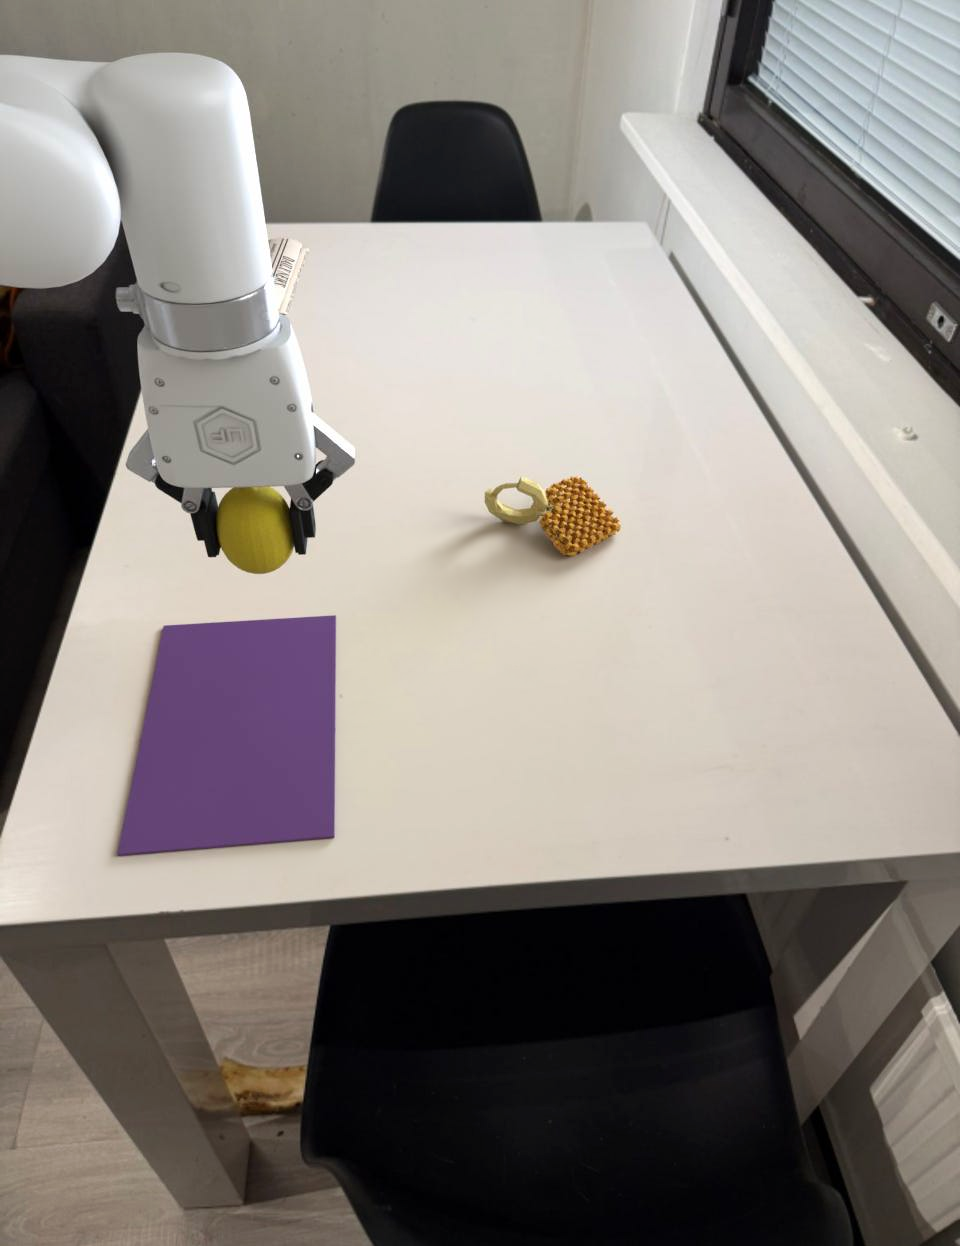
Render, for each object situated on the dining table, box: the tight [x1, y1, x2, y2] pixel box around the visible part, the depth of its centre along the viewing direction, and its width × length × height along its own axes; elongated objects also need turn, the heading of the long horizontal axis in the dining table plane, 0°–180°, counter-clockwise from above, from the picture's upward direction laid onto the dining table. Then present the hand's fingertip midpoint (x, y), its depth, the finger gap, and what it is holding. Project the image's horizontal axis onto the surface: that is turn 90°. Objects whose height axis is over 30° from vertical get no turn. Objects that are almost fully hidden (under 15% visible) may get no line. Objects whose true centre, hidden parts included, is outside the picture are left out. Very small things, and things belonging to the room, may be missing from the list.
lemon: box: [216, 487, 295, 575], centre depth 63 cm, size 6×6×8 cm
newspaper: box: [268, 237, 310, 315], centre depth 134 cm, size 24×7×2 cm, turn 0°
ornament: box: [484, 475, 622, 557], centre depth 92 cm, size 7×10×15 cm
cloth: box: [117, 614, 337, 857], centre depth 74 cm, size 24×16×1 cm, turn 6°
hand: (259, 541), depth 63 cm, fingers closed on lemon, 5 cm apart
